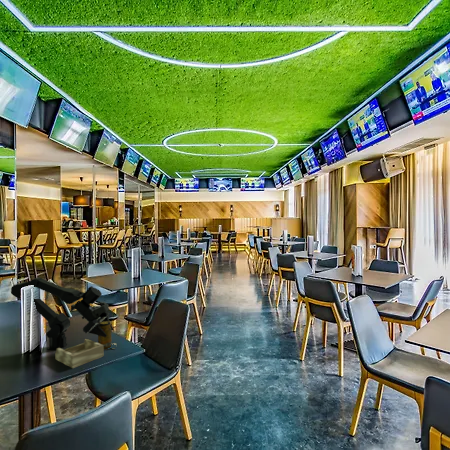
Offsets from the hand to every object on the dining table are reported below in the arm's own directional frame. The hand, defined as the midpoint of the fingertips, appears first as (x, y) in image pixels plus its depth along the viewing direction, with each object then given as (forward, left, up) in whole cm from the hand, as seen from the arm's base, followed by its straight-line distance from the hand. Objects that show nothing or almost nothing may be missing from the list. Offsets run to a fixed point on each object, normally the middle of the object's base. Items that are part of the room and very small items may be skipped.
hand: (109, 333), depth 148 cm
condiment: (-1, 0, -7) cm, 7 cm away
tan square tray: (-8, -12, -7) cm, 16 cm away
